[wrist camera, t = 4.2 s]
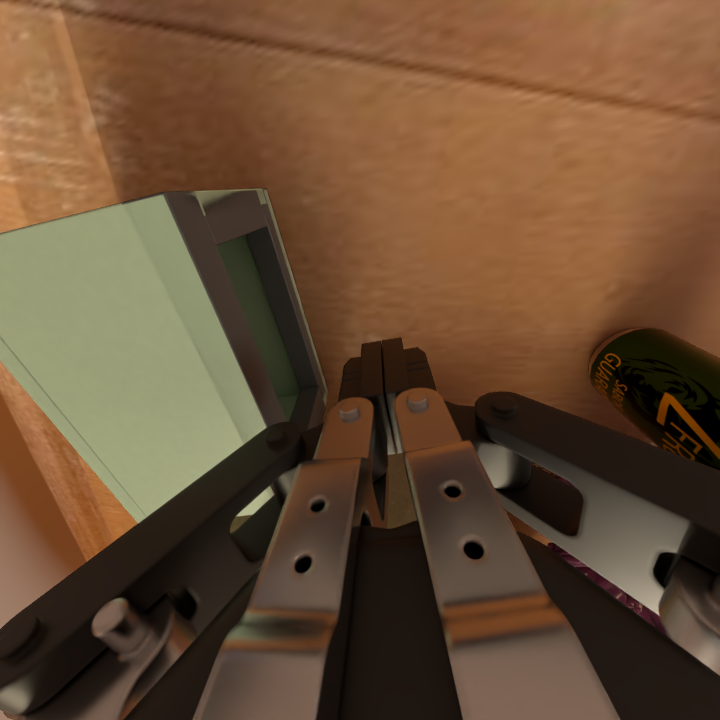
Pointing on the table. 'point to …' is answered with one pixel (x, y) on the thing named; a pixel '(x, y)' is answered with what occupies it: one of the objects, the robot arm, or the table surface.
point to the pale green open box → (159, 336)
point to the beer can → (663, 390)
